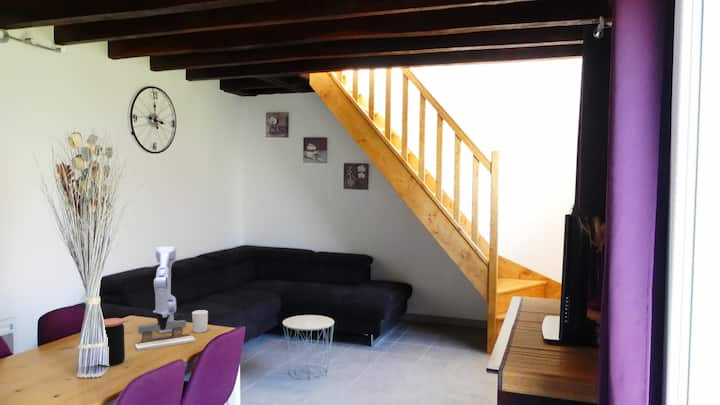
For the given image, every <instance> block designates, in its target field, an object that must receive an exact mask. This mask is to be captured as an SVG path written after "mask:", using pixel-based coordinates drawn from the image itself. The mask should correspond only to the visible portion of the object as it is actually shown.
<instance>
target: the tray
mask: <svg viewBox="0 0 720 405" xmlns="http://www.w3.org/2000/svg"><path fill="white" fill-rule="evenodd" d="M191 343H196V338H195V337H194V336H193V335H187V336H183V337H180V338H174V339H167V340H161V341H154V342H147V343H141V342H140V343H135V345H134V347H135V350H136V351H137V352H142V351H147V350H154V349H160V348H166V347H173V346H179V345H184V344H191Z"/></svg>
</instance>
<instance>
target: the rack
mask: <svg viewBox="0 0 720 405" xmlns="http://www.w3.org/2000/svg"><path fill="white" fill-rule="evenodd" d="M183 332H184V331H183V328H176V329H172V331H171V335H167V336H159V337H154V336H153V335H154V334H153V333H154V332H148V333H143V334H141V339H140V344H141V343H147V342H154V341H161V340H167V339H174V338H180V337H184V336H183Z"/></svg>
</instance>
